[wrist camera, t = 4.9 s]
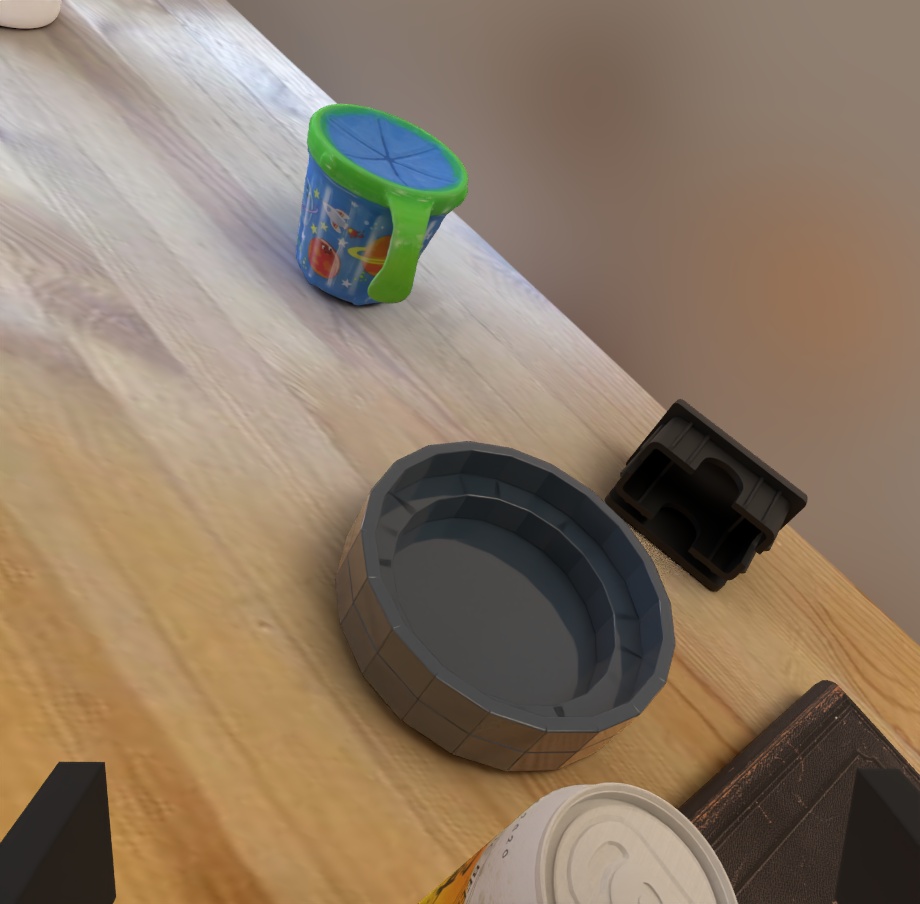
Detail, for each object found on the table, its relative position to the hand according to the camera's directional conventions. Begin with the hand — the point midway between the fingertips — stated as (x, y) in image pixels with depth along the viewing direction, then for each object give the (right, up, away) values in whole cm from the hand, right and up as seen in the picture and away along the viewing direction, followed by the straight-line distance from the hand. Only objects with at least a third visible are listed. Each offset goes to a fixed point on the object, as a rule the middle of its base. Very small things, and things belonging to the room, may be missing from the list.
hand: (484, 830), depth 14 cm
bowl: (+1, -2, +28) cm, 28 cm away
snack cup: (-9, +19, +44) cm, 49 cm away
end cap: (+14, +2, +40) cm, 42 cm away
